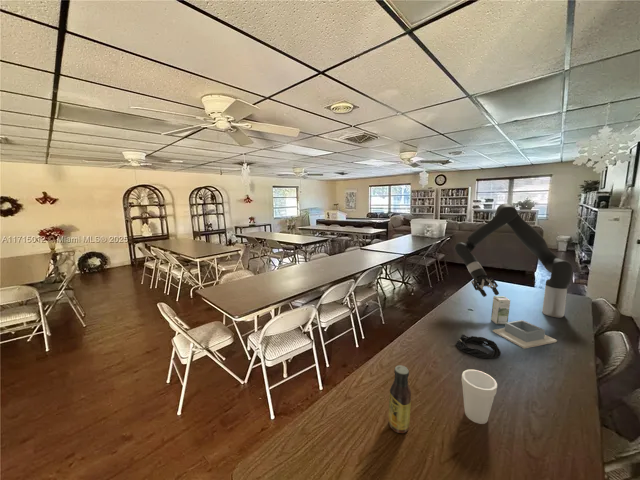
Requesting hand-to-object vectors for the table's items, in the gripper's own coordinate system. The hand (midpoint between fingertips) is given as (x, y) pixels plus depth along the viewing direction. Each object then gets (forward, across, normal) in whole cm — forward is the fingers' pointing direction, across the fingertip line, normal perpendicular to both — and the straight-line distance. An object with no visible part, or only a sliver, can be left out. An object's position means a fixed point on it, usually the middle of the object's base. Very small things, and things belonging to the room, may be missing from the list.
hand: (491, 295), depth 146 cm
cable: (+27, -33, -7) cm, 43 cm away
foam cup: (+47, -63, -28) cm, 84 cm away
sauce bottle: (+45, -89, -26) cm, 103 cm away
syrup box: (+14, 0, +5) cm, 15 cm away
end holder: (+24, -2, -6) cm, 25 cm away
